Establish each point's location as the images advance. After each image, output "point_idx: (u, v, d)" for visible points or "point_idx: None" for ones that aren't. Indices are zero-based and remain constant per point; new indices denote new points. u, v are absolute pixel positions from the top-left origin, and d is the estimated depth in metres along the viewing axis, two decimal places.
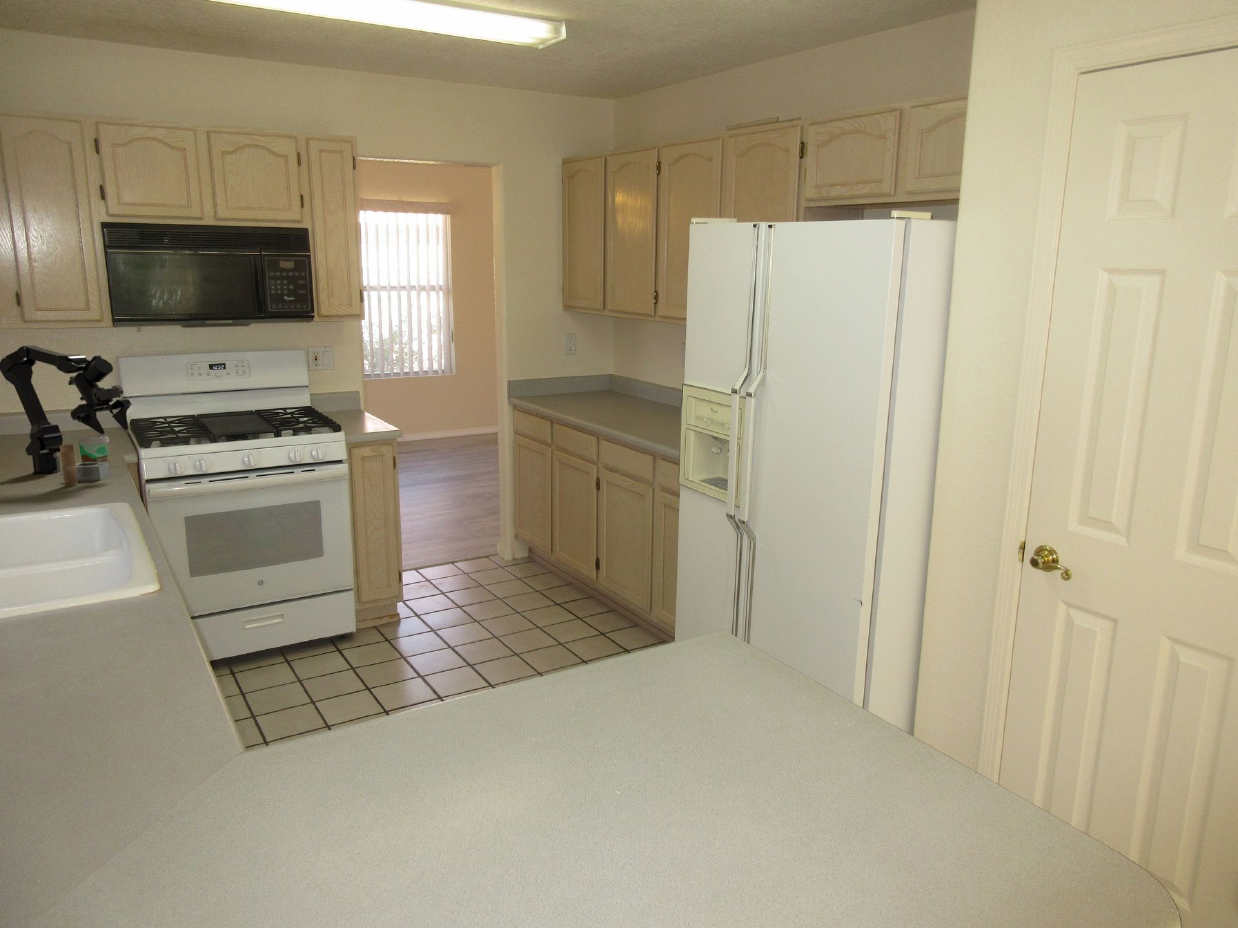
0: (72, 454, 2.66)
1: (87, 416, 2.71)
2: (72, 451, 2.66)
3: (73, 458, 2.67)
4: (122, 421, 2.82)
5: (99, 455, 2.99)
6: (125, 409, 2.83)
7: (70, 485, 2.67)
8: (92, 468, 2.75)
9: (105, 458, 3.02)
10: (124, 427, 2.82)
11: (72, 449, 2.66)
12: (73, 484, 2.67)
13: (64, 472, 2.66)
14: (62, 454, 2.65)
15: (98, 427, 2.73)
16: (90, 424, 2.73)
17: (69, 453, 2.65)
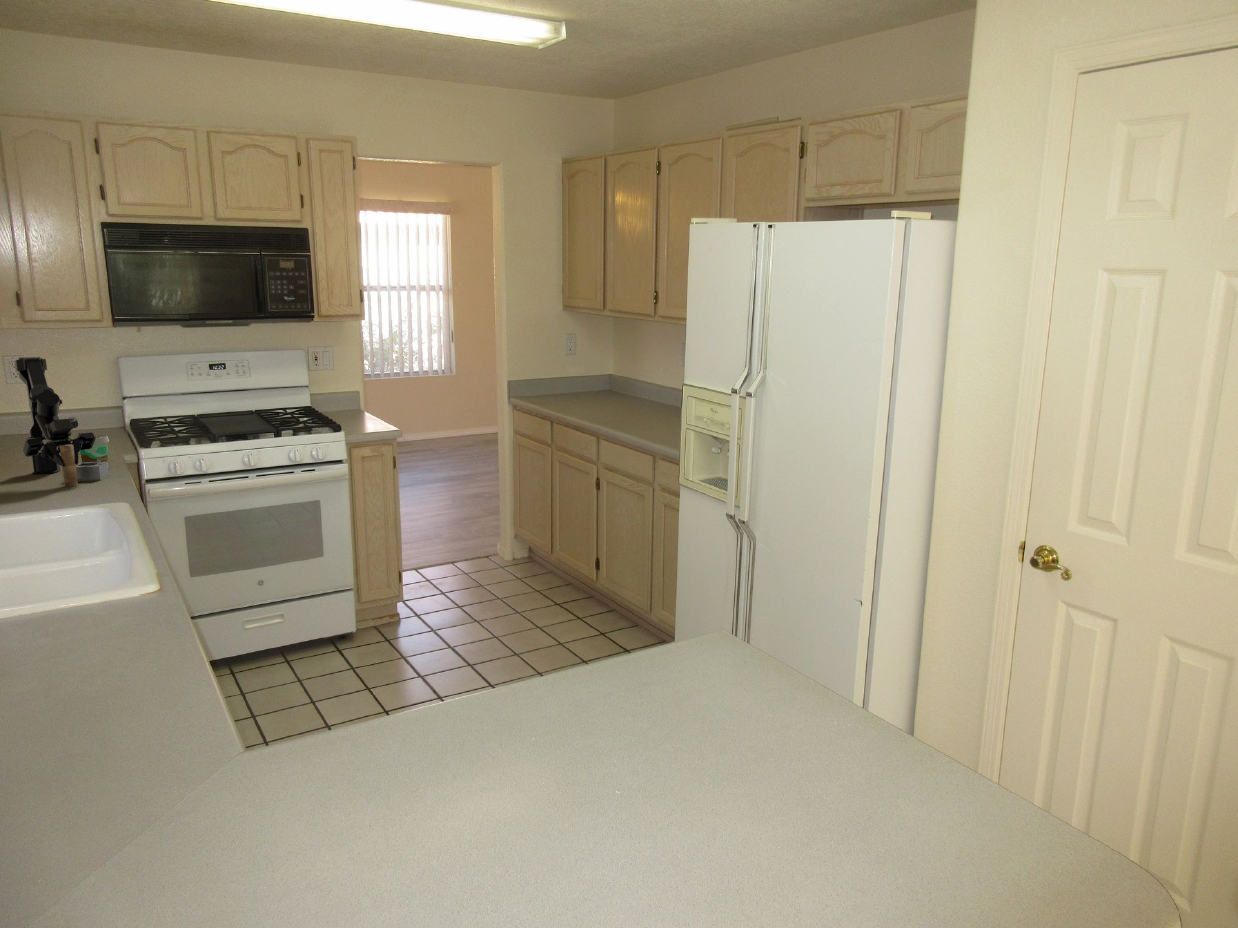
0: (72, 454, 2.66)
1: (47, 449, 2.65)
2: (72, 451, 2.66)
3: (73, 458, 2.67)
4: None
5: (99, 455, 2.99)
6: (76, 443, 2.69)
7: (70, 485, 2.67)
8: (92, 468, 2.75)
9: (105, 458, 3.02)
10: (75, 461, 2.68)
11: (72, 449, 2.66)
12: (73, 484, 2.67)
13: (64, 472, 2.66)
14: (62, 454, 2.65)
15: (58, 459, 2.64)
16: (52, 457, 2.65)
17: (69, 453, 2.65)
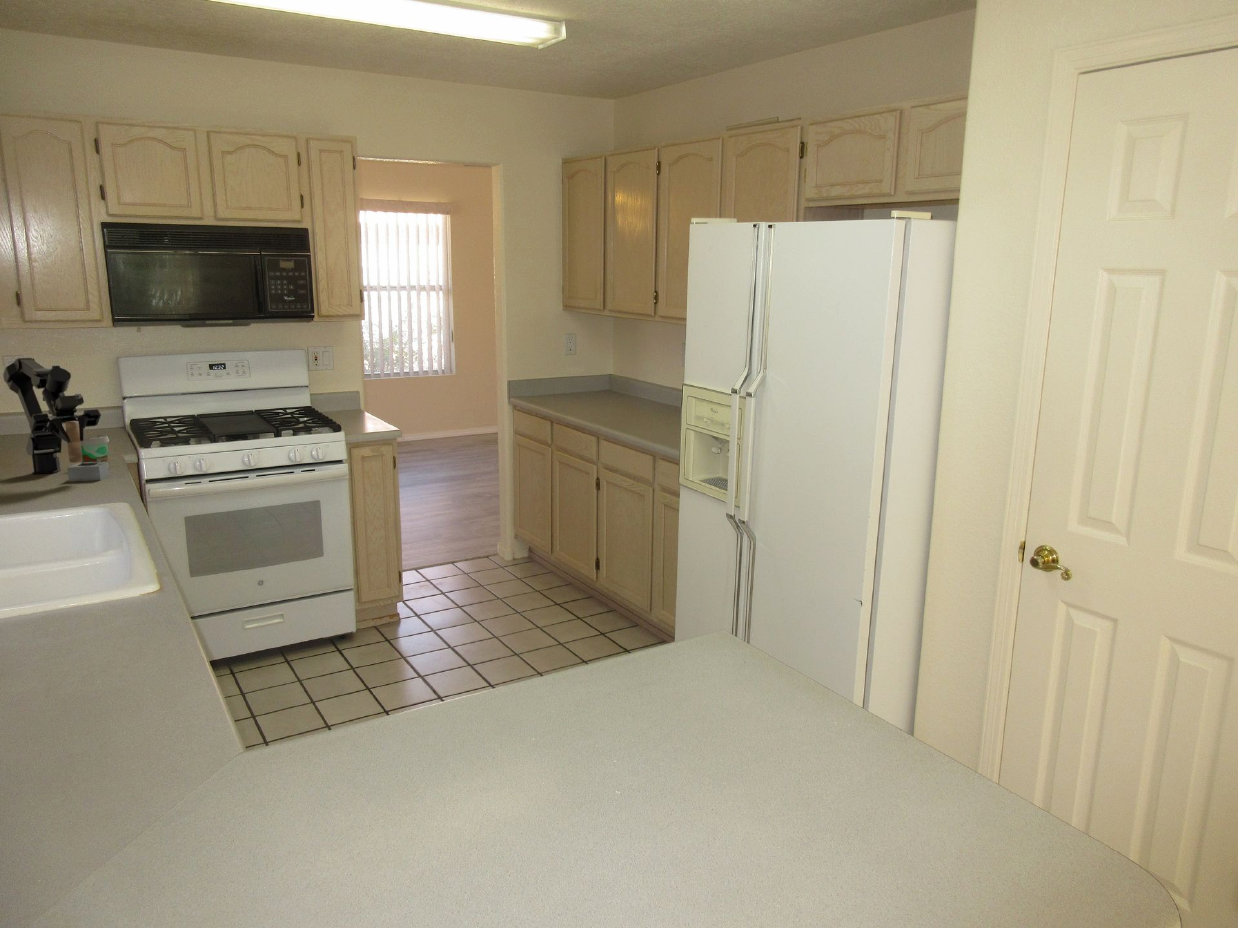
0: (77, 430, 2.70)
1: (53, 425, 2.68)
2: (77, 427, 2.70)
3: (78, 434, 2.70)
4: None
5: (99, 455, 2.99)
6: (82, 420, 2.73)
7: (75, 461, 2.70)
8: (92, 468, 2.75)
9: (105, 458, 3.02)
10: (80, 438, 2.72)
11: (77, 425, 2.70)
12: (78, 460, 2.71)
13: (69, 448, 2.70)
14: (67, 430, 2.69)
15: (63, 435, 2.68)
16: (58, 433, 2.69)
17: (74, 429, 2.69)
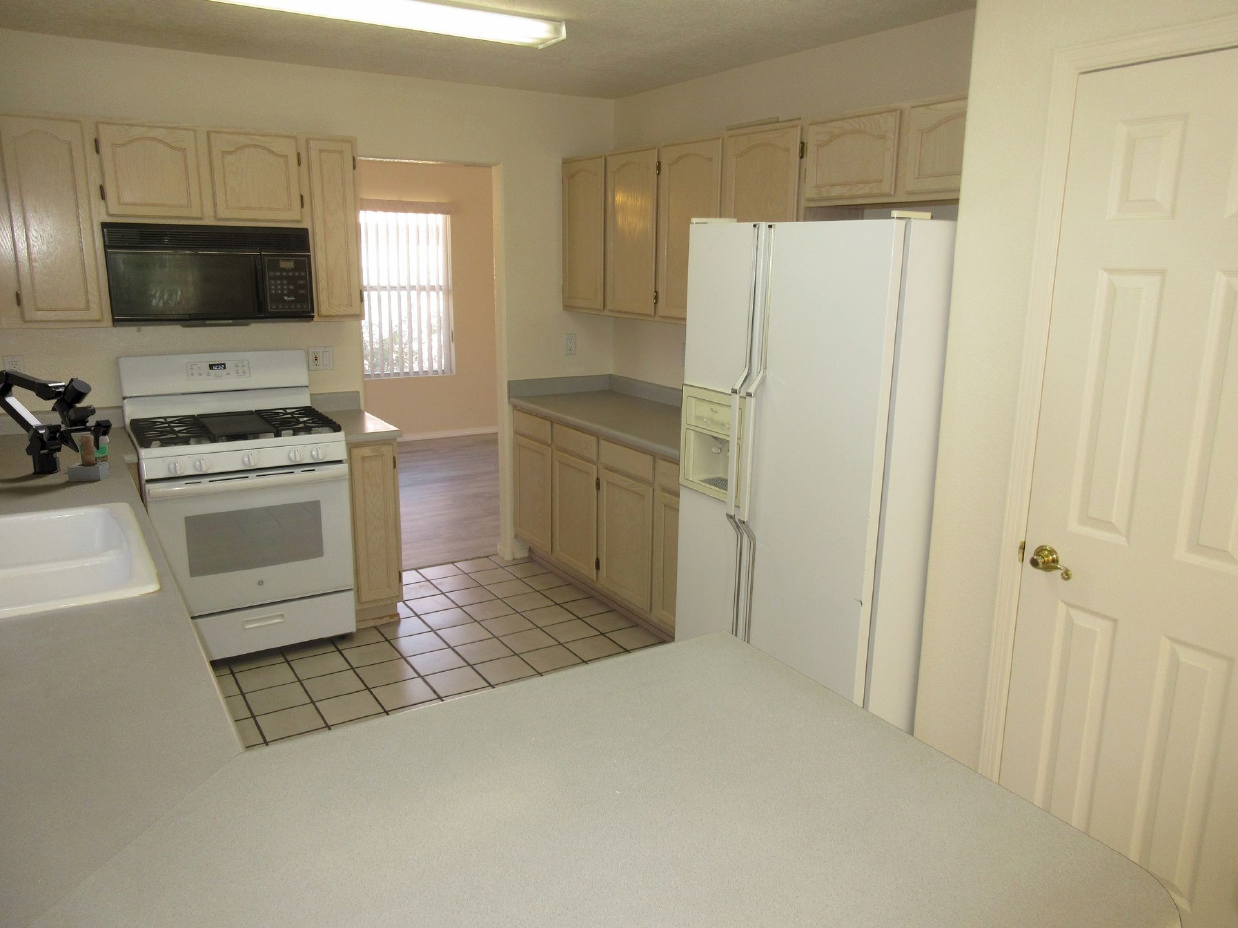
0: (92, 444, 2.78)
1: (62, 436, 2.75)
2: (92, 441, 2.78)
3: (93, 448, 2.78)
4: (94, 441, 2.80)
5: (99, 455, 2.99)
6: (97, 429, 2.81)
7: None
8: (92, 468, 2.75)
9: (105, 458, 3.02)
10: (96, 447, 2.80)
11: (92, 439, 2.78)
12: None
13: (83, 461, 2.77)
14: (82, 444, 2.77)
15: (73, 445, 2.75)
16: (67, 444, 2.76)
17: (89, 443, 2.77)
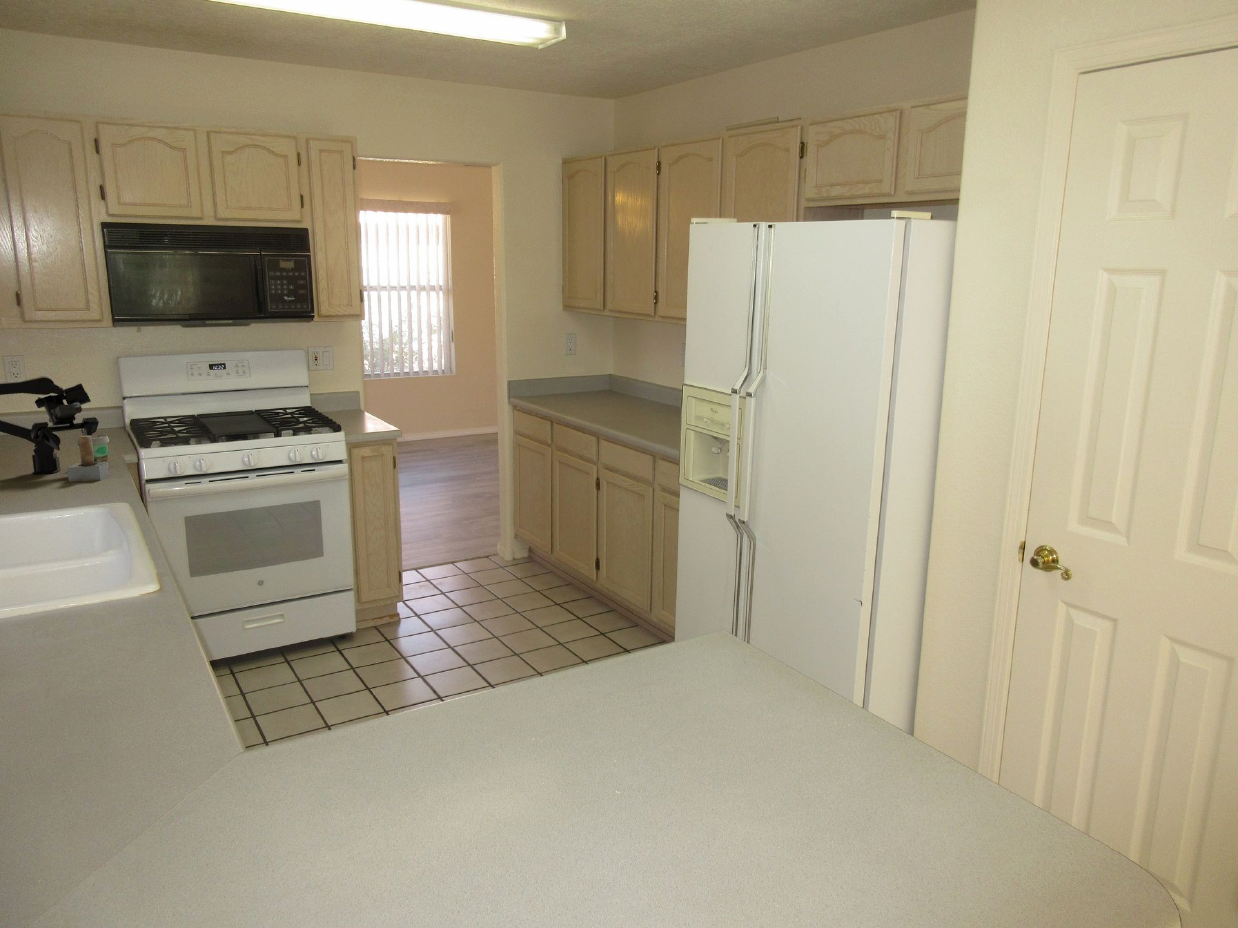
0: (90, 445, 2.77)
1: (44, 434, 2.79)
2: (90, 442, 2.77)
3: (91, 449, 2.78)
4: None
5: (99, 455, 2.99)
6: (89, 426, 2.88)
7: None
8: (92, 468, 2.75)
9: (105, 458, 3.02)
10: None
11: (90, 440, 2.77)
12: None
13: (82, 462, 2.77)
14: (81, 445, 2.76)
15: (53, 443, 2.79)
16: (48, 442, 2.80)
17: (87, 444, 2.76)
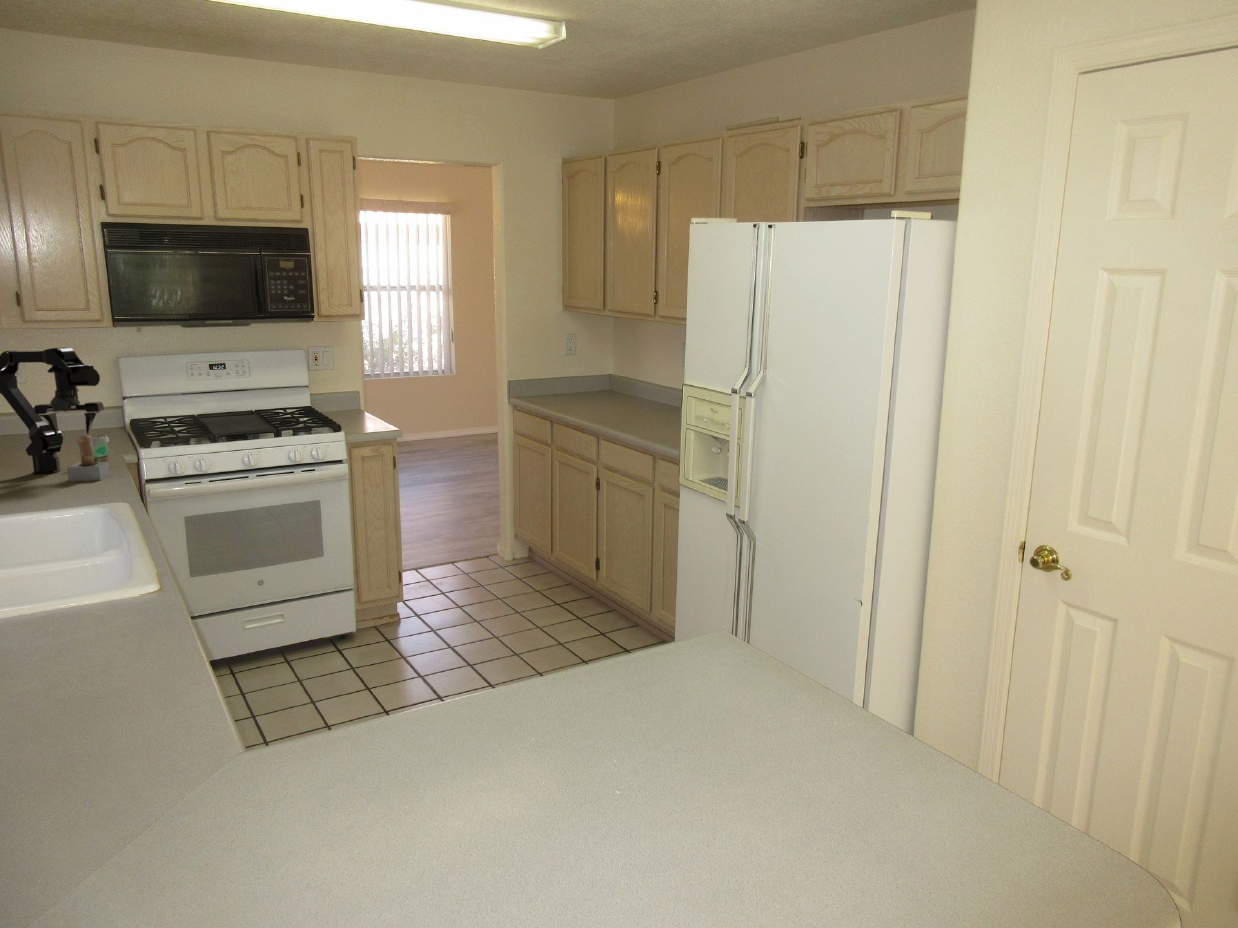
0: (90, 445, 2.77)
1: None
2: (90, 442, 2.77)
3: (91, 449, 2.78)
4: None
5: (99, 455, 2.99)
6: (88, 415, 2.84)
7: None
8: (92, 468, 2.75)
9: (105, 458, 3.02)
10: None
11: (90, 440, 2.77)
12: None
13: (82, 462, 2.77)
14: (81, 445, 2.76)
15: None
16: None
17: (87, 444, 2.76)
